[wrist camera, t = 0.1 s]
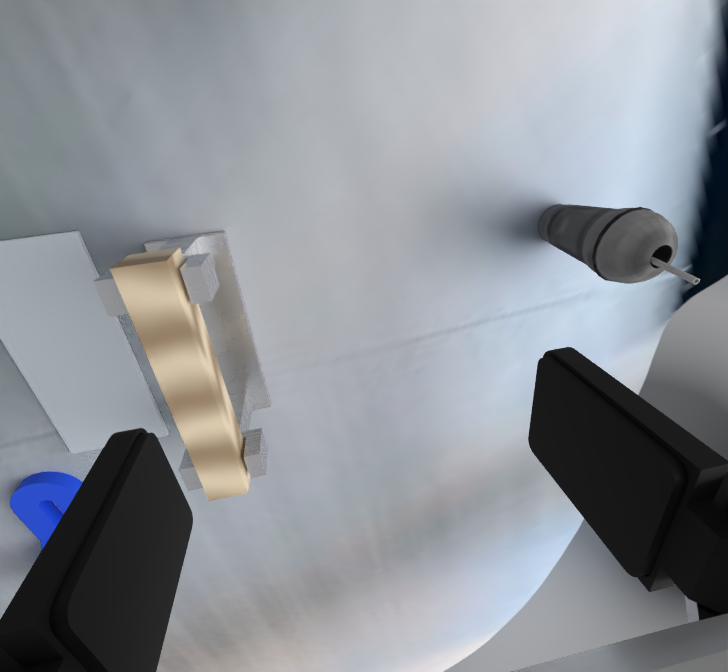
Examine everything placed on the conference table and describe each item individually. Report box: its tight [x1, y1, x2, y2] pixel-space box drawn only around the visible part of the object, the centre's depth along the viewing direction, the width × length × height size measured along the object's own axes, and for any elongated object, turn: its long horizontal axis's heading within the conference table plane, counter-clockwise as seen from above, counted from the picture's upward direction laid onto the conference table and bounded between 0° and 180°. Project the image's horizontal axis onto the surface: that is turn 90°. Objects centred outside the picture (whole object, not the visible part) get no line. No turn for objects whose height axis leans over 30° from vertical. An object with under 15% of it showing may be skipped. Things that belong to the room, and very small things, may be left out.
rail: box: [110, 247, 250, 501], centre depth 36 cm, size 25×4×4 cm, turn 6°
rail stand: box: [93, 231, 271, 491], centre depth 41 cm, size 23×8×13 cm, turn 6°
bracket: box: [10, 472, 83, 551], centre depth 51 cm, size 18×8×9 cm, turn 10°
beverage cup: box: [539, 204, 700, 284], centre depth 39 cm, size 7×7×20 cm
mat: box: [0, 230, 169, 454], centre depth 44 cm, size 27×12×1 cm, turn 6°
